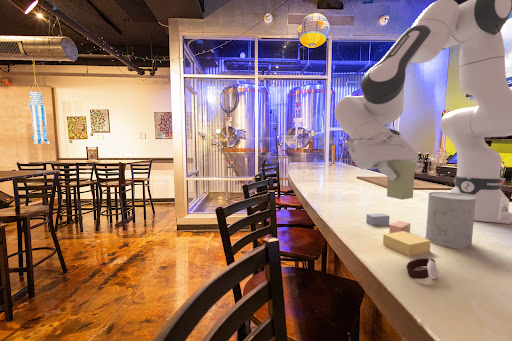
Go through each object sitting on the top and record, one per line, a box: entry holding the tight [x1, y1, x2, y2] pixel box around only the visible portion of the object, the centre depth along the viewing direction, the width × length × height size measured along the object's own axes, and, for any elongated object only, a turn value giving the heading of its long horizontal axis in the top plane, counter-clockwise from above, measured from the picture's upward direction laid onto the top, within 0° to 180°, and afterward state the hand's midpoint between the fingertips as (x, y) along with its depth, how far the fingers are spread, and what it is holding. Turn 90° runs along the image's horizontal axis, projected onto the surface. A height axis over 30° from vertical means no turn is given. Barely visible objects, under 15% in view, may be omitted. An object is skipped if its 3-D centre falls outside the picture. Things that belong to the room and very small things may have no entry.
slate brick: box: [365, 213, 390, 226], centre depth 77 cm, size 6×3×3 cm, turn 99°
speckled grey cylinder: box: [424, 191, 476, 250], centre depth 62 cm, size 10×10×12 cm
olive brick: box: [386, 161, 416, 200], centre depth 59 cm, size 4×4×9 cm
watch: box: [406, 257, 438, 280], centre depth 46 cm, size 8×5×4 cm, turn 127°
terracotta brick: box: [388, 220, 411, 234], centre depth 68 cm, size 6×3×3 cm, turn 126°
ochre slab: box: [382, 231, 432, 257], centre depth 58 cm, size 7×7×3 cm
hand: (403, 178), depth 58 cm, fingers closed on olive brick, 4 cm apart
